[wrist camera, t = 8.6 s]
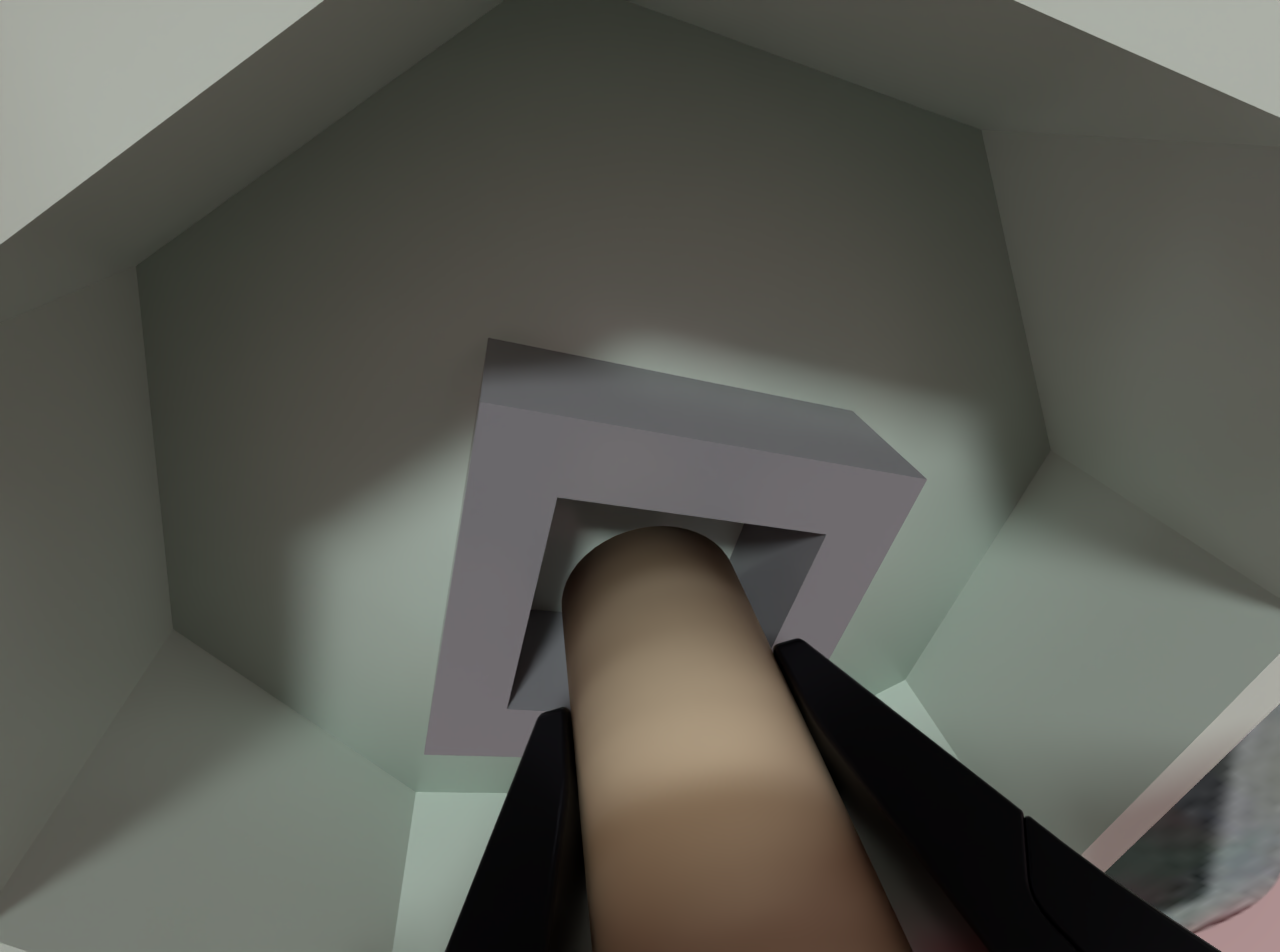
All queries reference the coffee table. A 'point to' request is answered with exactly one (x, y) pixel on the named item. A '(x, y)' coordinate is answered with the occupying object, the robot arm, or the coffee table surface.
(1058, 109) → the octagonal white bin
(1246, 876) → the coffee table surface
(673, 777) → the beige rounded cylinder
